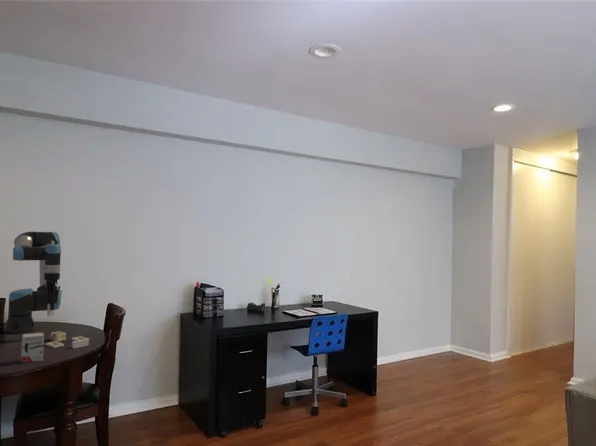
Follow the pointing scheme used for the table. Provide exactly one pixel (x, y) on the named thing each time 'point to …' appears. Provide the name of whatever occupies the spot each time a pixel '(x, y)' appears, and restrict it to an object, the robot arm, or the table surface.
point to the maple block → (58, 336)
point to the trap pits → (57, 344)
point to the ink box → (32, 347)
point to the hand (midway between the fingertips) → (50, 315)
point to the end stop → (80, 343)
